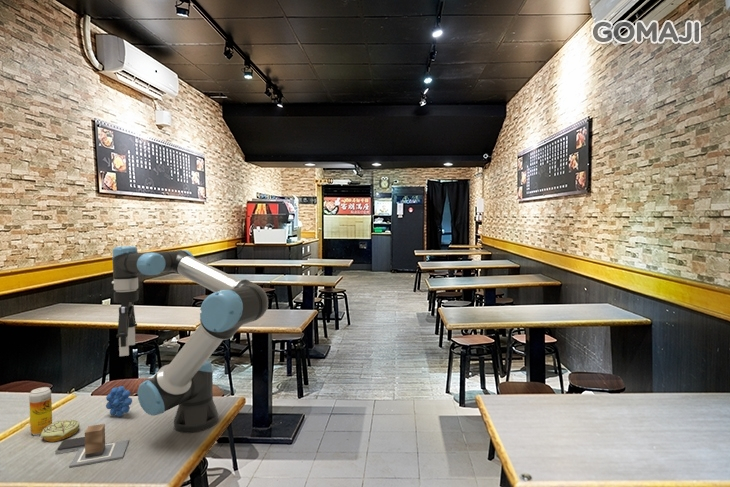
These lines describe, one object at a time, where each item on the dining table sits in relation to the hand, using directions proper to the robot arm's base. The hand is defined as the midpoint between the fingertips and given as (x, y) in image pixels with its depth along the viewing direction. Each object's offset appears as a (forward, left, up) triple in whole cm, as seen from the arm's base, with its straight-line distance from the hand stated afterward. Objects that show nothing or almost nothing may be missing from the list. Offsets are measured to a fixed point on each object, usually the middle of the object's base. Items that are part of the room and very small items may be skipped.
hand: (127, 350), depth 147 cm
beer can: (+29, -10, -29) cm, 42 cm away
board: (+6, +15, -29) cm, 33 cm away
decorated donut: (+22, -5, -29) cm, 37 cm away
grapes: (+5, -14, -29) cm, 32 cm away
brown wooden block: (+7, +15, -28) cm, 32 cm away
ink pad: (+15, +6, -29) cm, 33 cm away
